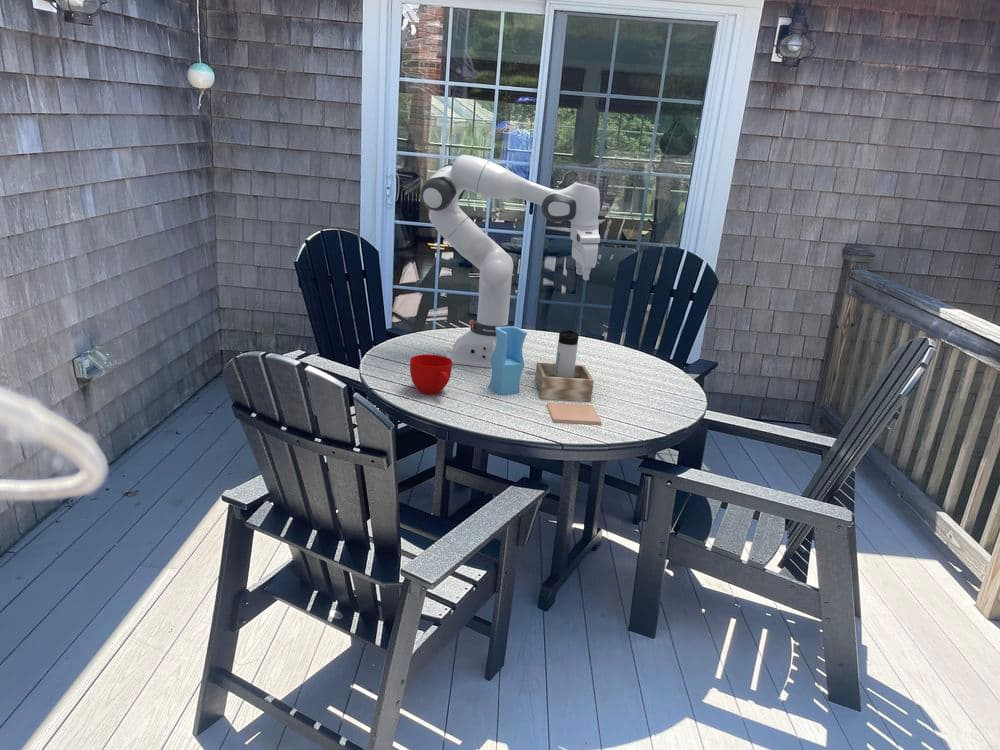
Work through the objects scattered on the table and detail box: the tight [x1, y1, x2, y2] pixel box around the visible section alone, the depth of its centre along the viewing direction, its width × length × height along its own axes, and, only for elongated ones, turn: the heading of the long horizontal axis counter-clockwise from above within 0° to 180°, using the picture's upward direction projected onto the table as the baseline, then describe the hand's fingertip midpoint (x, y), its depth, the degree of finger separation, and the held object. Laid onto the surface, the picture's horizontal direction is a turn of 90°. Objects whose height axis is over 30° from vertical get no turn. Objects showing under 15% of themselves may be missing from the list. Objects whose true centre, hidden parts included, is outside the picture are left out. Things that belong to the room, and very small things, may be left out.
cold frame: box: [534, 361, 595, 402], centre depth 234 cm, size 16×16×7 cm
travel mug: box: [554, 329, 580, 378], centre depth 232 cm, size 6×7×20 cm
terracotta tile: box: [546, 402, 603, 426], centre depth 215 cm, size 14×14×1 cm
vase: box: [487, 325, 528, 396], centre depth 229 cm, size 8×8×20 cm
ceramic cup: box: [409, 353, 453, 396], centre depth 221 cm, size 13×17×10 cm
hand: (582, 276), depth 236 cm, fingers open, 8 cm apart
